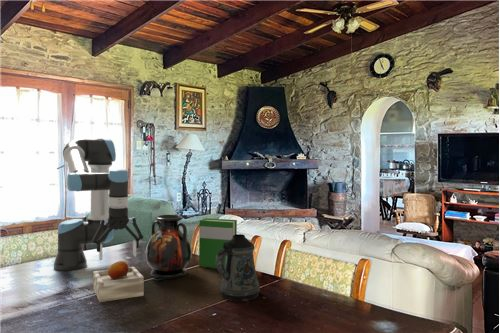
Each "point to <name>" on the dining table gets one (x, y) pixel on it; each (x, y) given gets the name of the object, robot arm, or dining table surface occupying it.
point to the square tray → (118, 285)
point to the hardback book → (214, 239)
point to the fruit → (118, 270)
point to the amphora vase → (168, 248)
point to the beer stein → (238, 270)
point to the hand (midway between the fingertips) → (117, 257)
